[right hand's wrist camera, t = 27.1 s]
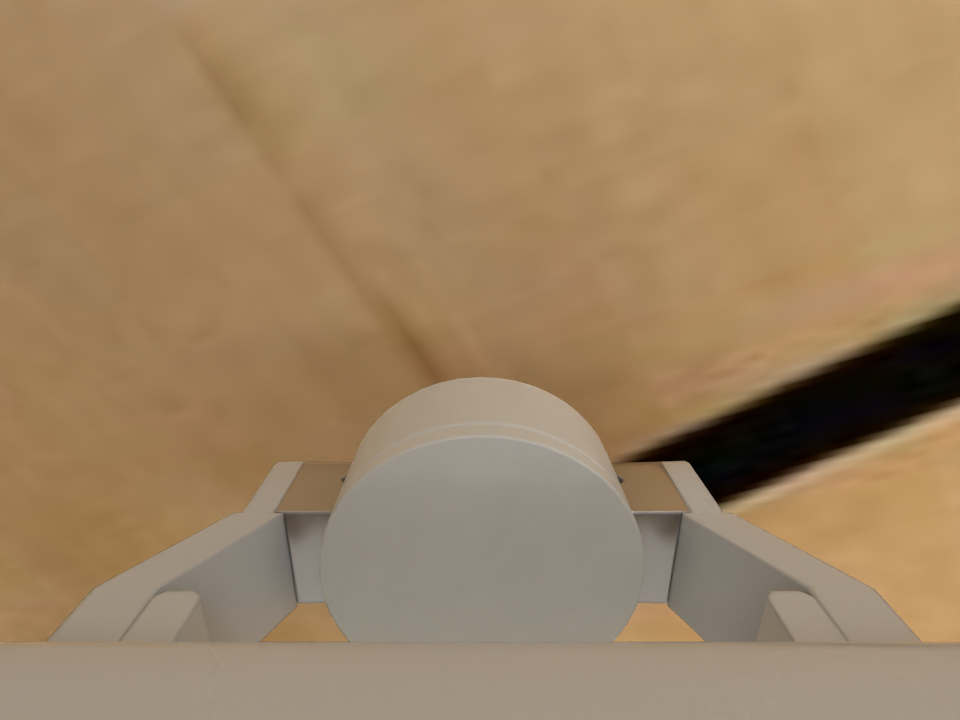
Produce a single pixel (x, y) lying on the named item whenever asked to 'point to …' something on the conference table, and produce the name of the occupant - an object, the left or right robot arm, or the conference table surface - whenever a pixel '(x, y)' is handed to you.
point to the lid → (481, 524)
